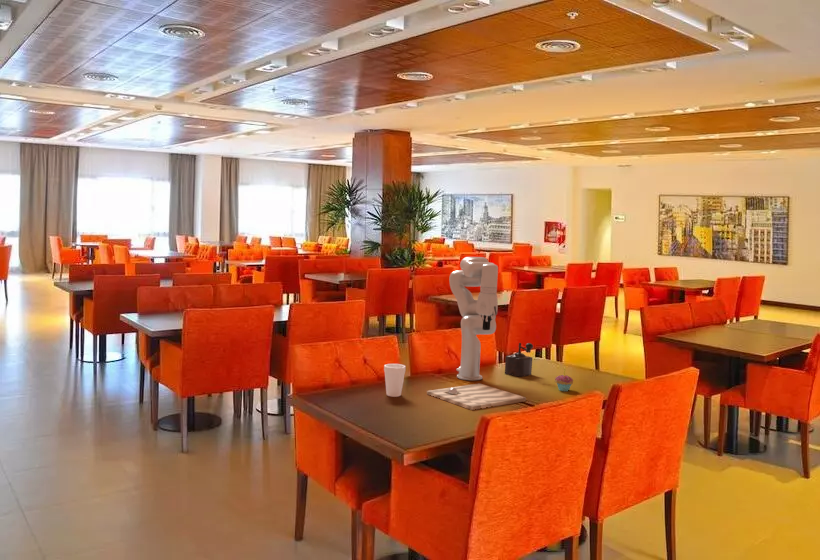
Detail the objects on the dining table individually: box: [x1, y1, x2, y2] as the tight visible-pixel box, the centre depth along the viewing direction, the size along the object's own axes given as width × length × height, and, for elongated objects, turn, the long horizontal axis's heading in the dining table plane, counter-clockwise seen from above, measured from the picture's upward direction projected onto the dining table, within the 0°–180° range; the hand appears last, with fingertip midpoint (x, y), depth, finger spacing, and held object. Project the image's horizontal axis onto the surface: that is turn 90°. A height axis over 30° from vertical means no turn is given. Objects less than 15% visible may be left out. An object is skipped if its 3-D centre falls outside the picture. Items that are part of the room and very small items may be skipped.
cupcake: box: [554, 366, 574, 392], centre depth 335 cm, size 9×8×12 cm
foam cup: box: [383, 363, 407, 398], centre depth 312 cm, size 10×9×13 cm
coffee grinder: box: [504, 342, 534, 378], centre depth 365 cm, size 16×11×18 cm
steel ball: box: [448, 387, 457, 395], centre depth 313 cm, size 4×4×4 cm
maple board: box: [426, 382, 527, 411], centre depth 314 cm, size 30×32×2 cm
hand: (486, 329), depth 329 cm, fingers closed
